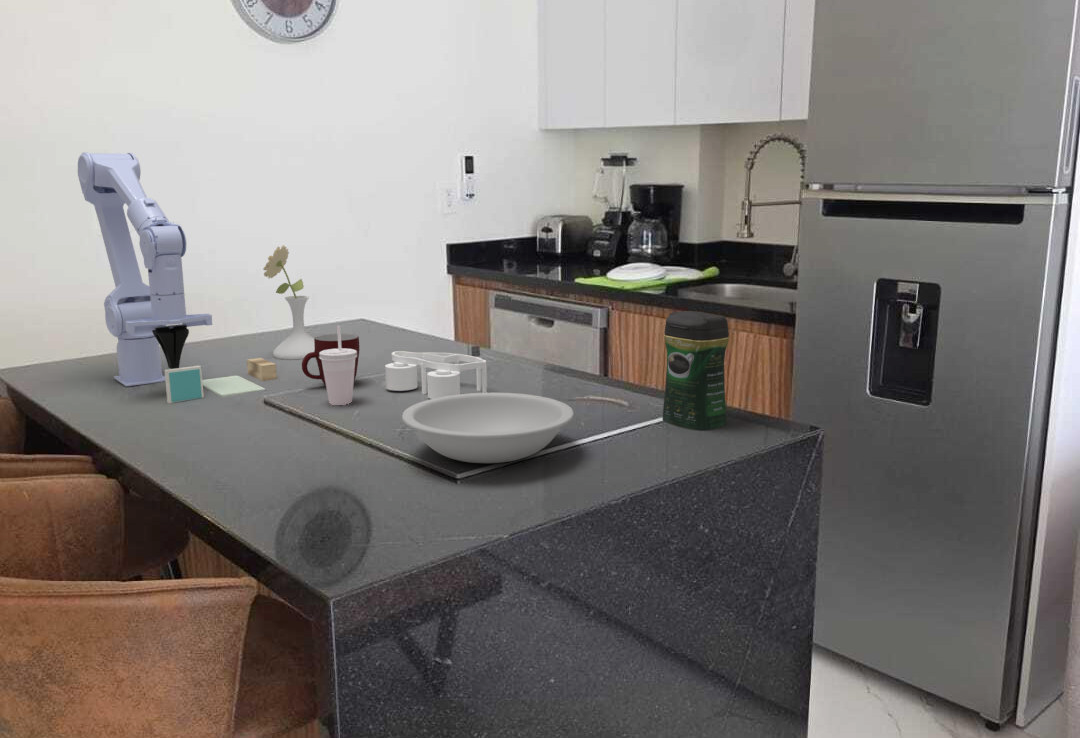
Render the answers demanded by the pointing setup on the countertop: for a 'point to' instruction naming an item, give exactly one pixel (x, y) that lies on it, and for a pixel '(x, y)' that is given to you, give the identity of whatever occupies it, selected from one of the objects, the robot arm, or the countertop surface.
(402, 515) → the countertop surface
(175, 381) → the tile
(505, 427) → the soup bowl
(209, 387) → the mat
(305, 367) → the mug
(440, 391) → the white rack with cylinders
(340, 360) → the smoothie
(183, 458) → the countertop surface
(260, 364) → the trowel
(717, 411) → the coffee jar
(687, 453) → the countertop surface
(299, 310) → the flower in vase
